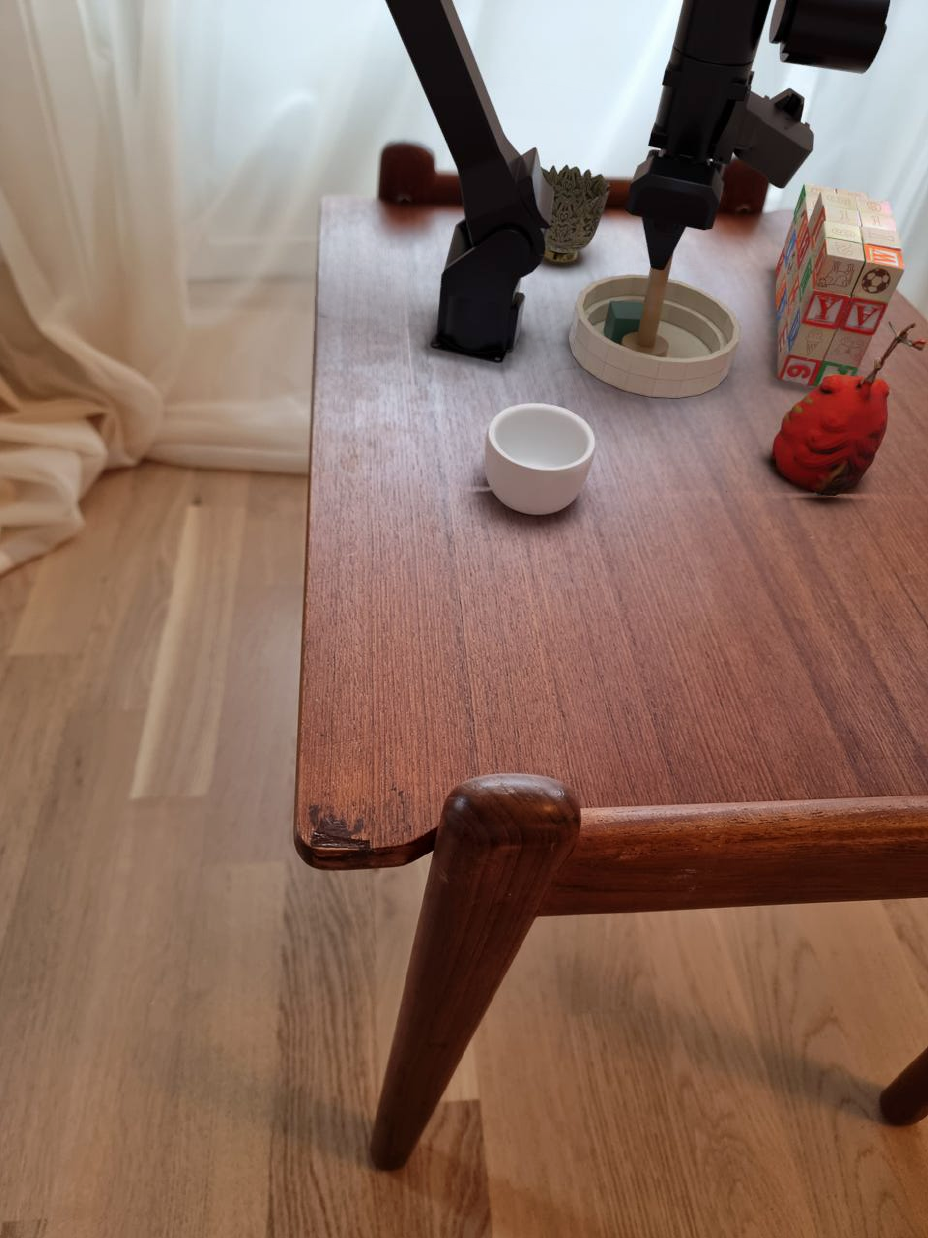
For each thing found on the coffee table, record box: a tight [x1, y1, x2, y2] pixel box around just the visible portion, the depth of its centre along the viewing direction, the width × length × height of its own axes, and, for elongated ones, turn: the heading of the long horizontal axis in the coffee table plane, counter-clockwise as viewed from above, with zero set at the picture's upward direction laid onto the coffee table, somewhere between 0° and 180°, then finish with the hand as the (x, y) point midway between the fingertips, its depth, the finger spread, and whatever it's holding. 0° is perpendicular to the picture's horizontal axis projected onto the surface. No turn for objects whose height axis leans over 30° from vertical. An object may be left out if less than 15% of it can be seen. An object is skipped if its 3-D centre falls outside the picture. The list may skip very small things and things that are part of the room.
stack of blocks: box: [775, 182, 906, 388], centre depth 89 cm, size 21×6×12 cm, turn 168°
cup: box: [541, 164, 611, 266], centre depth 95 cm, size 8×7×8 cm
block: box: [603, 301, 643, 345], centre depth 87 cm, size 3×3×3 cm
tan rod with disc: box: [621, 251, 675, 357], centre depth 81 cm, size 4×4×12 cm
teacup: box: [484, 402, 596, 516], centre depth 71 cm, size 10×8×5 cm
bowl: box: [568, 273, 741, 399], centre depth 86 cm, size 14×14×4 cm
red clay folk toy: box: [771, 320, 927, 497], centre depth 72 cm, size 8×7×15 cm
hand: (658, 263), depth 79 cm, fingers closed on tan rod with disc, 2 cm apart
